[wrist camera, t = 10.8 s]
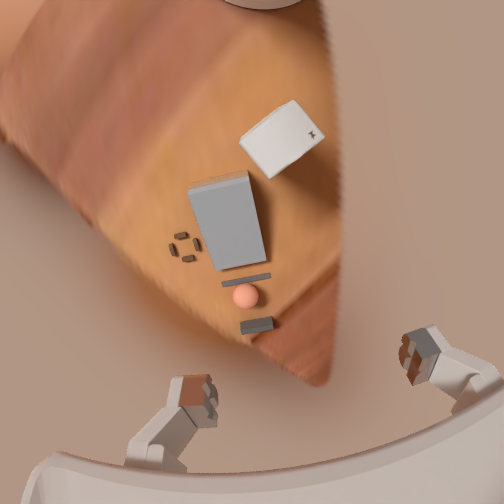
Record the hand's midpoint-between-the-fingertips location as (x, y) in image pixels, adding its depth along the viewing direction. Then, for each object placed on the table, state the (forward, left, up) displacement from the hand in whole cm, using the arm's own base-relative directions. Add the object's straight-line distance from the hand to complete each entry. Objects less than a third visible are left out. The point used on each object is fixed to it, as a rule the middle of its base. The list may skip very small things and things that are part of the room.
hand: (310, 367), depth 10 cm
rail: (+20, -5, -27) cm, 34 cm away
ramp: (+3, -5, -27) cm, 28 cm away
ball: (+13, -5, -24) cm, 28 cm away
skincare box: (-7, +2, -28) cm, 29 cm away
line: (+12, -5, -27) cm, 30 cm away
